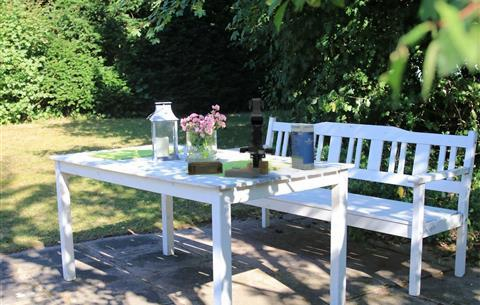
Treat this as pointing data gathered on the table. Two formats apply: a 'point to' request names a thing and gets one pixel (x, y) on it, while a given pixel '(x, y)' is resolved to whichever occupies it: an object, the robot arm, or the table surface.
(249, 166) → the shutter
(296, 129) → the string lights box
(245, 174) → the socket block
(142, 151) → the table surface
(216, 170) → the beverage carton
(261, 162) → the plug
